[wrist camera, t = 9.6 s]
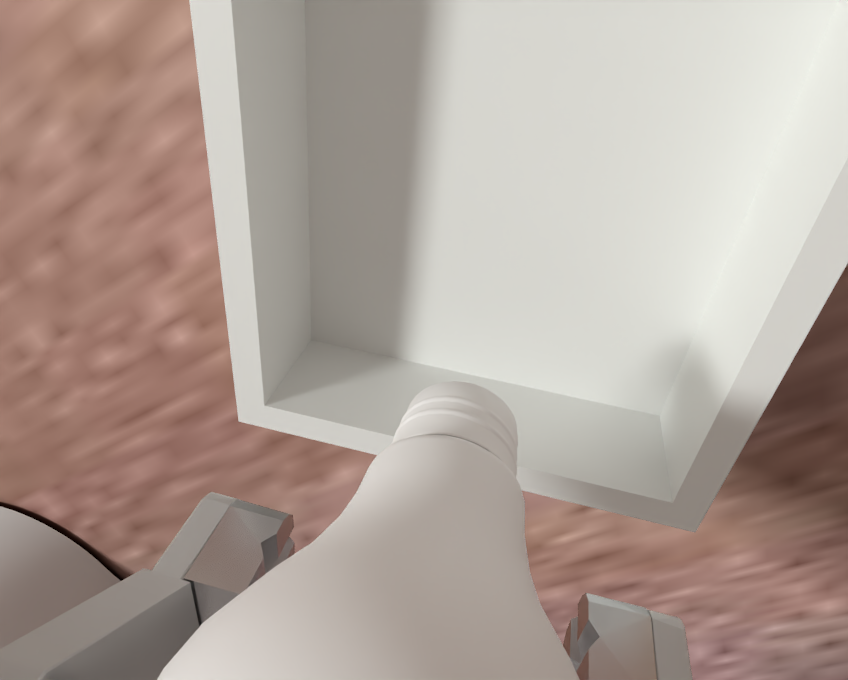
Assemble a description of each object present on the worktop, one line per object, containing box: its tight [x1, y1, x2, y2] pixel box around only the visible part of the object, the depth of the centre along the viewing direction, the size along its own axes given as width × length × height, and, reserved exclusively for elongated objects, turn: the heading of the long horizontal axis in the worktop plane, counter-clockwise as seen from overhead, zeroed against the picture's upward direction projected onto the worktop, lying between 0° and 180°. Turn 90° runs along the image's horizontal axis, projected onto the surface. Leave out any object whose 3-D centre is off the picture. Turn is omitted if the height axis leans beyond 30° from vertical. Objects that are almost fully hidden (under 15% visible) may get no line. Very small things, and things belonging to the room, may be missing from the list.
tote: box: [189, 0, 848, 532], centre depth 15 cm, size 19×15×5 cm
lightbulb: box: [157, 381, 580, 680], centre depth 9 cm, size 6×6×11 cm
